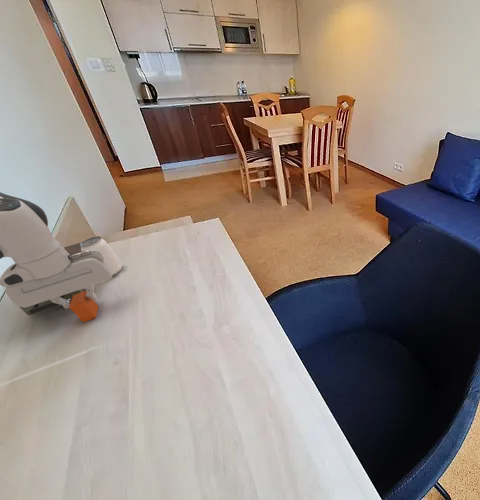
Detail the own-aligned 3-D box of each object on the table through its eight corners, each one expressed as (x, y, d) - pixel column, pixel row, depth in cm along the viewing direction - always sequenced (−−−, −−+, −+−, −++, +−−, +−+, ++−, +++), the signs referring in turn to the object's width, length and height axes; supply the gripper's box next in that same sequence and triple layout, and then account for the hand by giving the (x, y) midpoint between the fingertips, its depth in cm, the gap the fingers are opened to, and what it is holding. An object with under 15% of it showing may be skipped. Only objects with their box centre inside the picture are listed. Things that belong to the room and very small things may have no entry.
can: (104, 268, 102) (82, 239, 95) (125, 263, 103) (105, 233, 96) (98, 280, 97) (74, 249, 90) (120, 274, 98) (99, 243, 91)
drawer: (82, 305, 85) (71, 293, 83) (23, 326, 81) (10, 313, 78) (93, 271, 99) (84, 259, 97) (43, 286, 95) (33, 275, 92)
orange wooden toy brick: (83, 322, 81) (68, 306, 78) (87, 307, 86) (74, 291, 83) (95, 317, 82) (82, 302, 79) (99, 302, 87) (87, 287, 84)
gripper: (98, 241, 79) (126, 281, 87) (-1, 270, 73) (40, 310, 81) (94, 253, 75) (124, 294, 83) (-12, 285, 68) (32, 326, 76)
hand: (81, 302), depth 81 cm, fingers open, 4 cm apart
